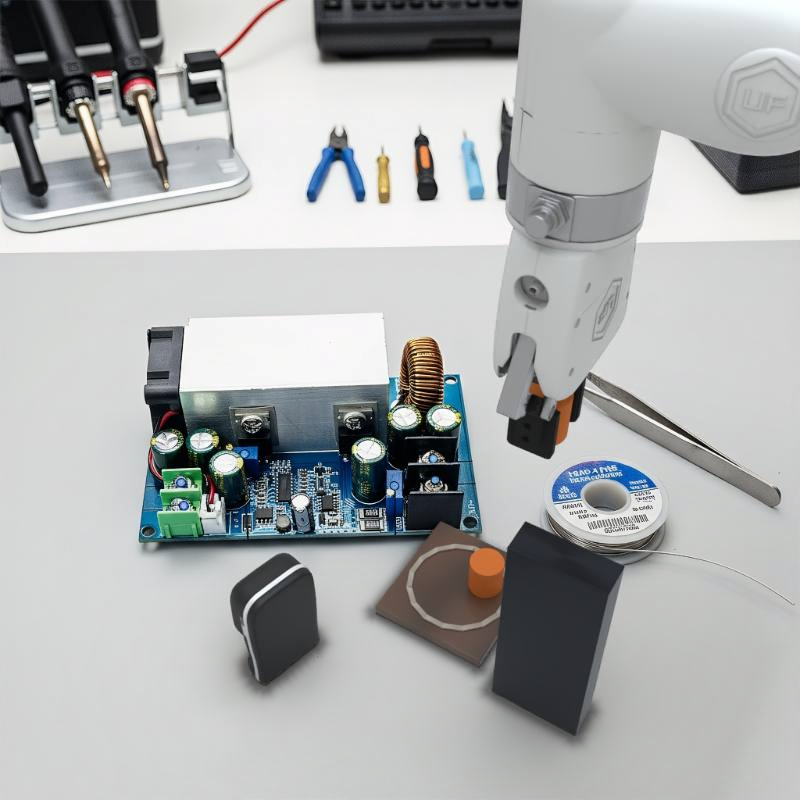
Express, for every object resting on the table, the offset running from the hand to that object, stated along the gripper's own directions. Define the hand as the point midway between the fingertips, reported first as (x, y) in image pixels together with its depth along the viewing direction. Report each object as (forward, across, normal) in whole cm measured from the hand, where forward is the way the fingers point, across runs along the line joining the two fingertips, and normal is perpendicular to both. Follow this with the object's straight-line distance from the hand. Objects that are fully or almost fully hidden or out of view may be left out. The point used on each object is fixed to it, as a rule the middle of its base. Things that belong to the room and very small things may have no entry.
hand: (543, 428), depth 66 cm
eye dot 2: (0, 0, 0) cm, 0 cm away
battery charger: (+31, -8, +19) cm, 38 cm away
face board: (+31, +6, +8) cm, 33 cm away
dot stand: (+31, 0, -3) cm, 31 cm away
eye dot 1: (+30, +7, +6) cm, 32 cm away
